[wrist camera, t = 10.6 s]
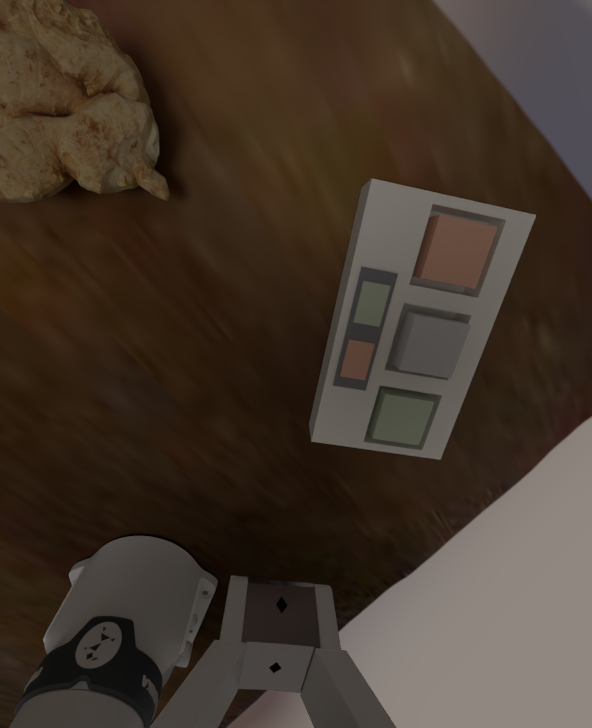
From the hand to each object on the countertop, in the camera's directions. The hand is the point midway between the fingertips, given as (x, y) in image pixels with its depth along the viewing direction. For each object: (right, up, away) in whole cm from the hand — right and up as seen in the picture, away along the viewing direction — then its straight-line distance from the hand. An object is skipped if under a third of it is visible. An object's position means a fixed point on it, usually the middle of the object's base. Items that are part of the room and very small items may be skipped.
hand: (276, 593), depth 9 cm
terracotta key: (+14, +17, +19) cm, 29 cm away
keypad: (+11, +10, +23) cm, 27 cm away
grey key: (+13, +9, +20) cm, 25 cm away
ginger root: (-16, +27, +16) cm, 35 cm away
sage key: (+11, +2, +24) cm, 26 cm away
